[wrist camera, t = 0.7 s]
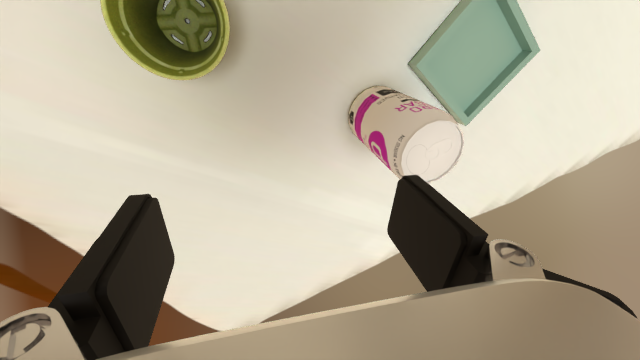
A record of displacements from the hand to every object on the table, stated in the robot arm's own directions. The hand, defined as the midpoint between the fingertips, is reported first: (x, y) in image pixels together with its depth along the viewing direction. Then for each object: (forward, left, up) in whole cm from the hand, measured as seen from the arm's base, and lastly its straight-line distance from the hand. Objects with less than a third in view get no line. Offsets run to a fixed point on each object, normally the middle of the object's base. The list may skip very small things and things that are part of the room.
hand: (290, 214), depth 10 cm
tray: (-22, +21, -28) cm, 41 cm away
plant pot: (-1, -10, -28) cm, 29 cm away
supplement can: (-7, +15, -28) cm, 32 cm away
